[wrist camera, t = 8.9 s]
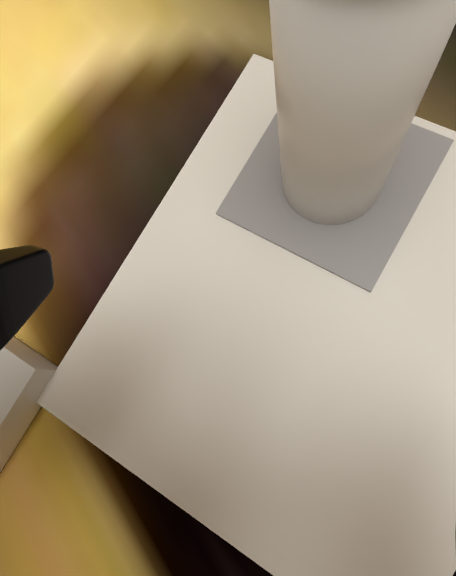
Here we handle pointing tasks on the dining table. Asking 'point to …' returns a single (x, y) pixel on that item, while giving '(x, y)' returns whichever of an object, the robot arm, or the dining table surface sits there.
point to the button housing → (19, 392)
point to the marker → (349, 94)
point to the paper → (285, 356)
